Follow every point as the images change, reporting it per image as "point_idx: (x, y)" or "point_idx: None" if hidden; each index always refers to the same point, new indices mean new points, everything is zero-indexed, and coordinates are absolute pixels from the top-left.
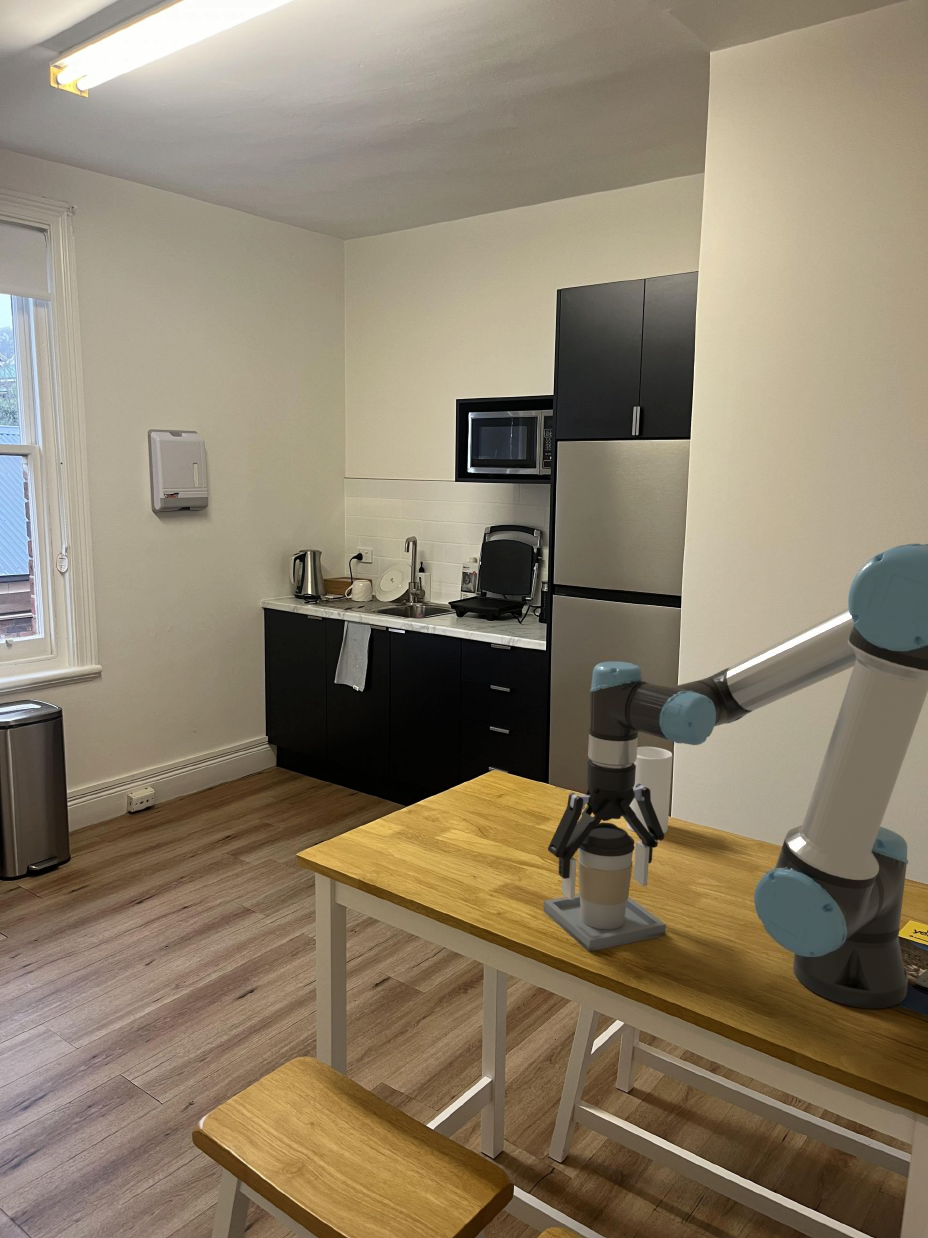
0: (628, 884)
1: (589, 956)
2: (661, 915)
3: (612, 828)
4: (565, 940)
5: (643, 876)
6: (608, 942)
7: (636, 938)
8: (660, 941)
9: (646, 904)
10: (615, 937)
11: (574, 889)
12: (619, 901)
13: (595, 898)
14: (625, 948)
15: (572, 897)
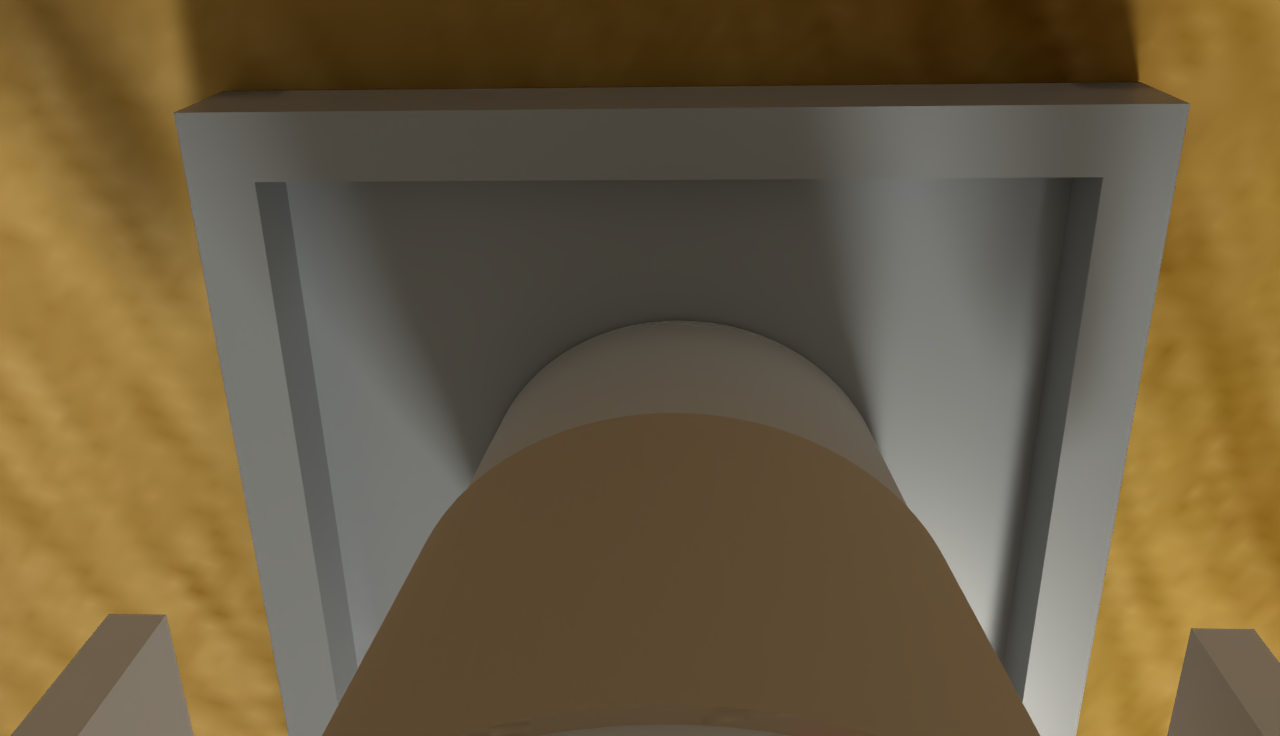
0: (459, 571)
1: (1190, 7)
2: (86, 420)
3: None
4: (1186, 352)
5: (104, 707)
6: (918, 96)
7: (568, 93)
8: (330, 5)
9: (133, 613)
10: (838, 103)
11: (1266, 721)
12: (650, 427)
13: (938, 558)
14: (750, 13)
15: (1239, 649)
